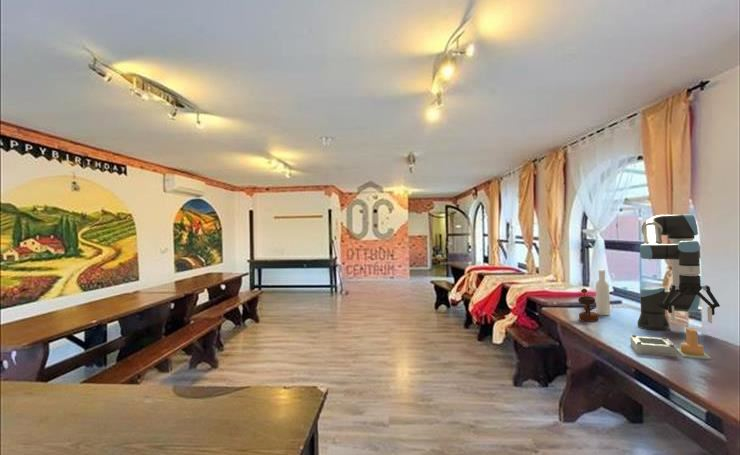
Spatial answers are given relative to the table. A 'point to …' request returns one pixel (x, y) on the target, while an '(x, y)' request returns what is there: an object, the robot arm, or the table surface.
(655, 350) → the housing
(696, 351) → the orange stamp
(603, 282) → the bottle
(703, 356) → the mat
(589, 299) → the brown wooden tiered piece
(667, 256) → the robot arm
